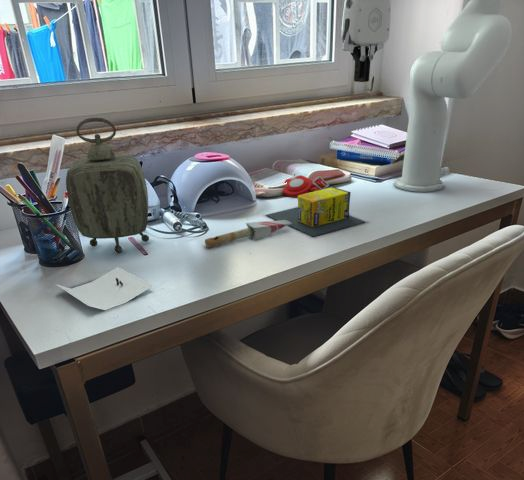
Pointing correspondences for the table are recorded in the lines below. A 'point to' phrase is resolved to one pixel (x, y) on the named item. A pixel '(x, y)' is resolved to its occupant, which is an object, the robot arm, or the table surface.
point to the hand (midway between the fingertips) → (361, 81)
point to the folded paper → (109, 289)
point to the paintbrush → (248, 232)
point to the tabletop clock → (107, 192)
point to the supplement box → (323, 206)
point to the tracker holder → (303, 185)
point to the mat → (292, 217)
